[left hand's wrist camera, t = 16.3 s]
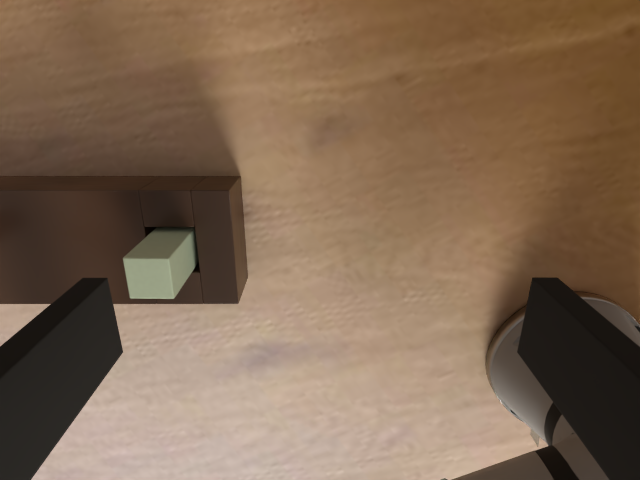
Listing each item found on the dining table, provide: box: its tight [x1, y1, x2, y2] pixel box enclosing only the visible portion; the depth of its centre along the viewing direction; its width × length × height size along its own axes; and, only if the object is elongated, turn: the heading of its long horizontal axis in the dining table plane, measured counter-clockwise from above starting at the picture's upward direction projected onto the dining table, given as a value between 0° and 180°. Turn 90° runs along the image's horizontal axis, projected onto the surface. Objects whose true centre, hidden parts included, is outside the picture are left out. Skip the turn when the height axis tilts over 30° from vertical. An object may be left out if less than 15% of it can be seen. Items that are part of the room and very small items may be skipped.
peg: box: [123, 227, 199, 299], centre depth 34 cm, size 3×3×10 cm
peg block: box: [0, 176, 248, 304], centre depth 33 cm, size 26×10×12 cm, turn 90°
